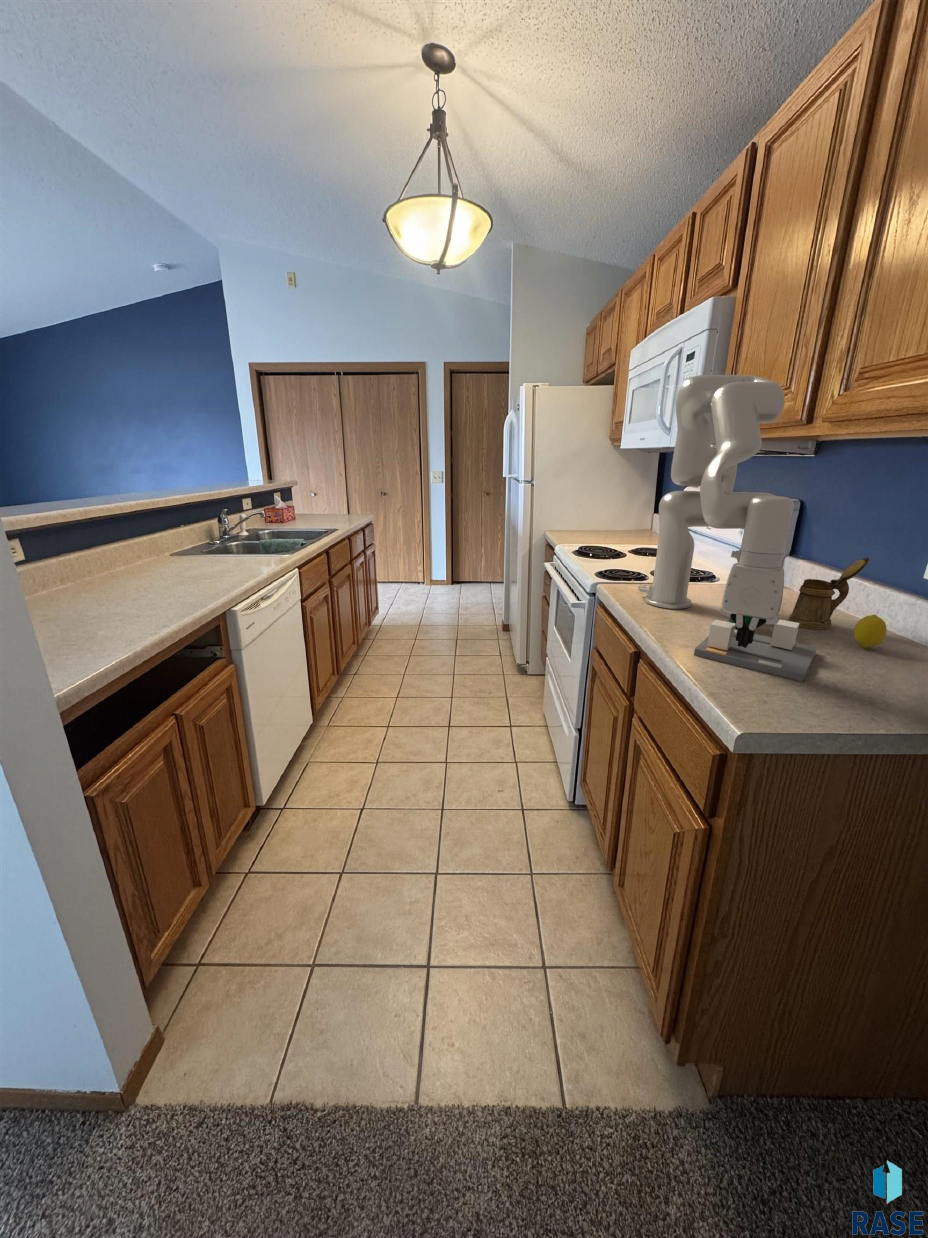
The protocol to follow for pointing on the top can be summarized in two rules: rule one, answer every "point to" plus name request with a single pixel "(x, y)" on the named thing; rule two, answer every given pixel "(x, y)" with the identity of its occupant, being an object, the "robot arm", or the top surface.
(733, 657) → the switch panel
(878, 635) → the lemon
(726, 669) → the top surface
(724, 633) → the front slider
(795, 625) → the back slider
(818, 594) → the wooden mug
